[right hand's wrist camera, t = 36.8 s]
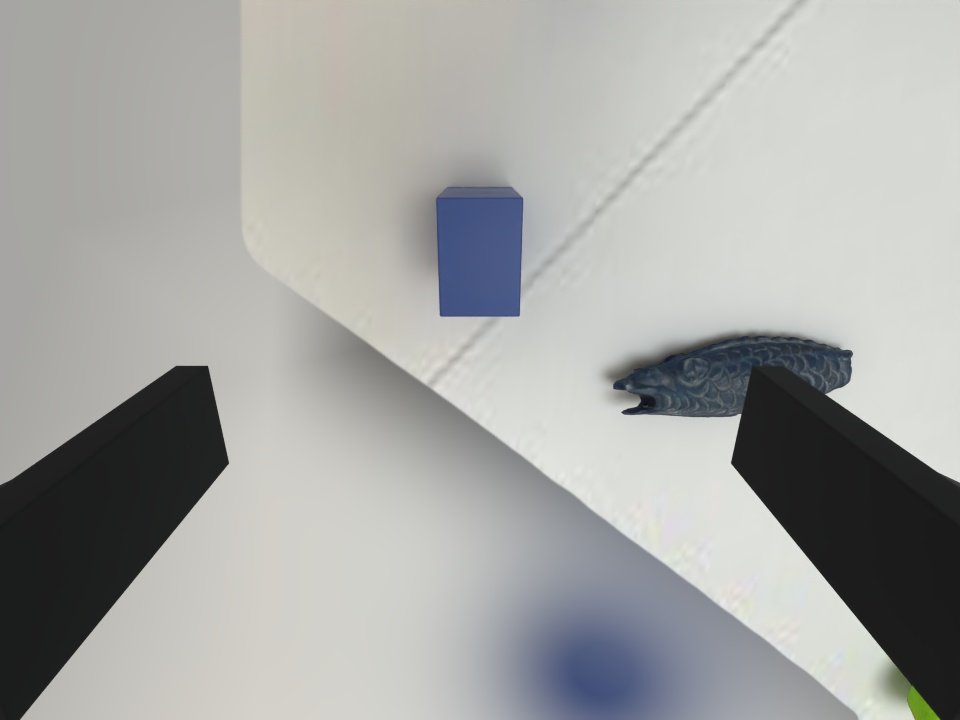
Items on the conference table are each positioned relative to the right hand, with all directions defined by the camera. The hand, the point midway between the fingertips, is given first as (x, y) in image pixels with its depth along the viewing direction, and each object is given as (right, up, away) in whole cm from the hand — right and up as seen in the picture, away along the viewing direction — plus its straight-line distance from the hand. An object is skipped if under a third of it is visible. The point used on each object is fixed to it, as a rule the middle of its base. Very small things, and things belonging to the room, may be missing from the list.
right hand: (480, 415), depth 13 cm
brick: (0, +12, +29) cm, 32 cm away
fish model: (+22, 0, +34) cm, 40 cm away
